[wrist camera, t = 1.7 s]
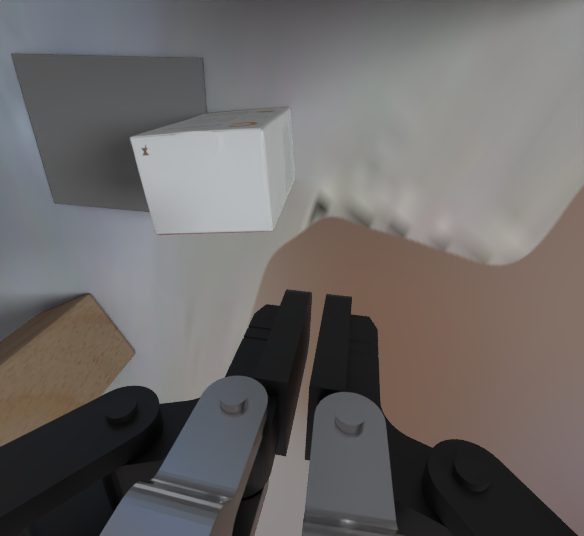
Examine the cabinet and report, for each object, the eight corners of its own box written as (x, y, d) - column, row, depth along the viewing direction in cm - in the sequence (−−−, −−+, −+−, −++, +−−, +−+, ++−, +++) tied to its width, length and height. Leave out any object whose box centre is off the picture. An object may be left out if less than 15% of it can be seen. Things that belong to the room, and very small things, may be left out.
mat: (202, 58, 31) (201, 57, 31) (215, 216, 38) (213, 217, 37) (14, 53, 34) (11, 53, 33) (57, 202, 40) (54, 203, 40)
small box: (214, 184, 36) (152, 236, 24) (201, 113, 33) (124, 134, 21) (297, 180, 34) (274, 233, 23) (292, 105, 32) (262, 124, 20)
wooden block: (138, 352, 49) (12, 506, 32) (85, 368, 53) (-54, 516, 35) (91, 291, 46) (-80, 427, 28) (38, 313, 49) (-143, 446, 32)
